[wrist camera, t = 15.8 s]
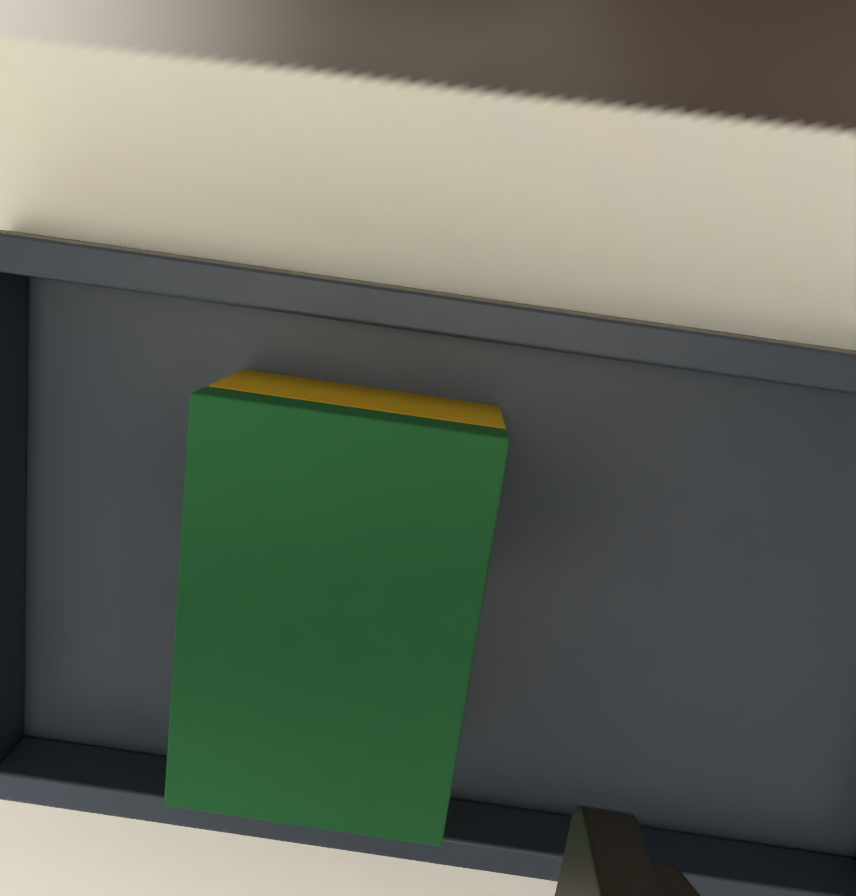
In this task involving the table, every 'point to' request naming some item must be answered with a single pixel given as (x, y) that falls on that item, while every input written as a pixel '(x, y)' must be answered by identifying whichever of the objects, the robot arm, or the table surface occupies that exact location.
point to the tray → (510, 570)
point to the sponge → (329, 601)
